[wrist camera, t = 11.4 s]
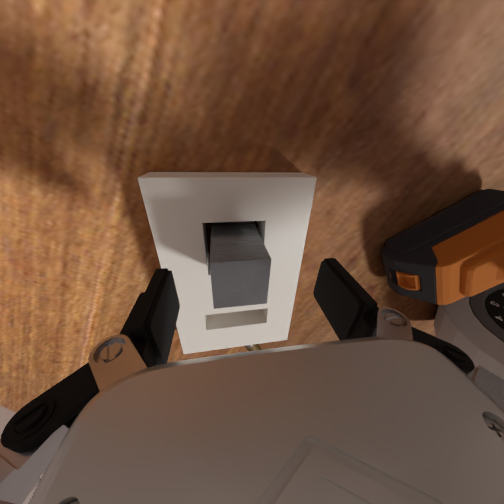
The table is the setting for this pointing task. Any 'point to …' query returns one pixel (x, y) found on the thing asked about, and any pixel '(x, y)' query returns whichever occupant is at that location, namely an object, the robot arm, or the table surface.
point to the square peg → (238, 265)
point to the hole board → (197, 257)
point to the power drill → (450, 251)
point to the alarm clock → (476, 327)
